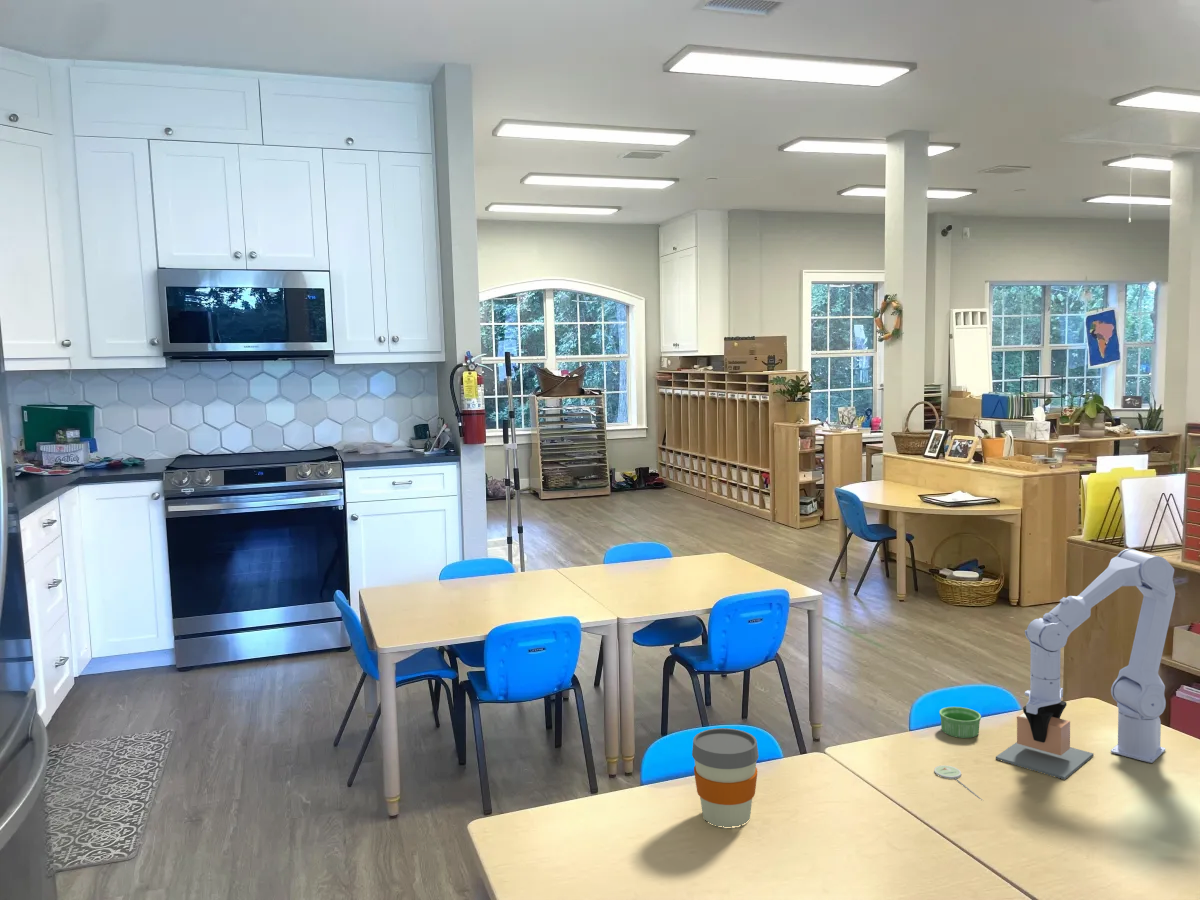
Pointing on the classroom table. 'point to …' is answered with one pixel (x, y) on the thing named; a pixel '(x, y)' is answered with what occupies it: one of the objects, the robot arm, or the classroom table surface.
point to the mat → (1045, 760)
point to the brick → (1055, 737)
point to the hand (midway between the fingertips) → (1044, 737)
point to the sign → (950, 774)
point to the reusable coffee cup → (725, 774)
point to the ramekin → (960, 722)
